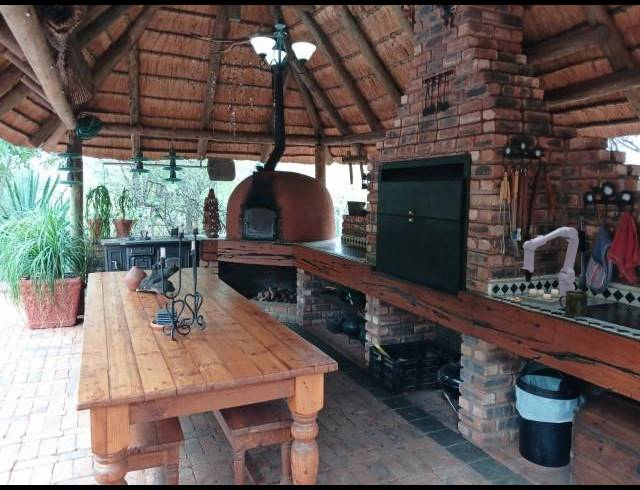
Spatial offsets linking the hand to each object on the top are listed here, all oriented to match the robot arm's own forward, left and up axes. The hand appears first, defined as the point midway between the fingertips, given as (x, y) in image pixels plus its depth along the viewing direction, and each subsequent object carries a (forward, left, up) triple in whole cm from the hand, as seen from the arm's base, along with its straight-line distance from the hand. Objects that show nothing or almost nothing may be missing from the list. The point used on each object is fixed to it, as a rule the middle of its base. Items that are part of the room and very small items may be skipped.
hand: (528, 282), depth 314 cm
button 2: (+3, +15, -10) cm, 18 cm away
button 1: (-6, +15, -8) cm, 17 cm away
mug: (+20, +38, -10) cm, 44 cm away
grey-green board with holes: (-1, +10, -10) cm, 14 cm away
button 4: (+3, +5, -8) cm, 10 cm away
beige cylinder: (-6, +5, -10) cm, 12 cm away
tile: (+10, -2, -10) cm, 14 cm away
